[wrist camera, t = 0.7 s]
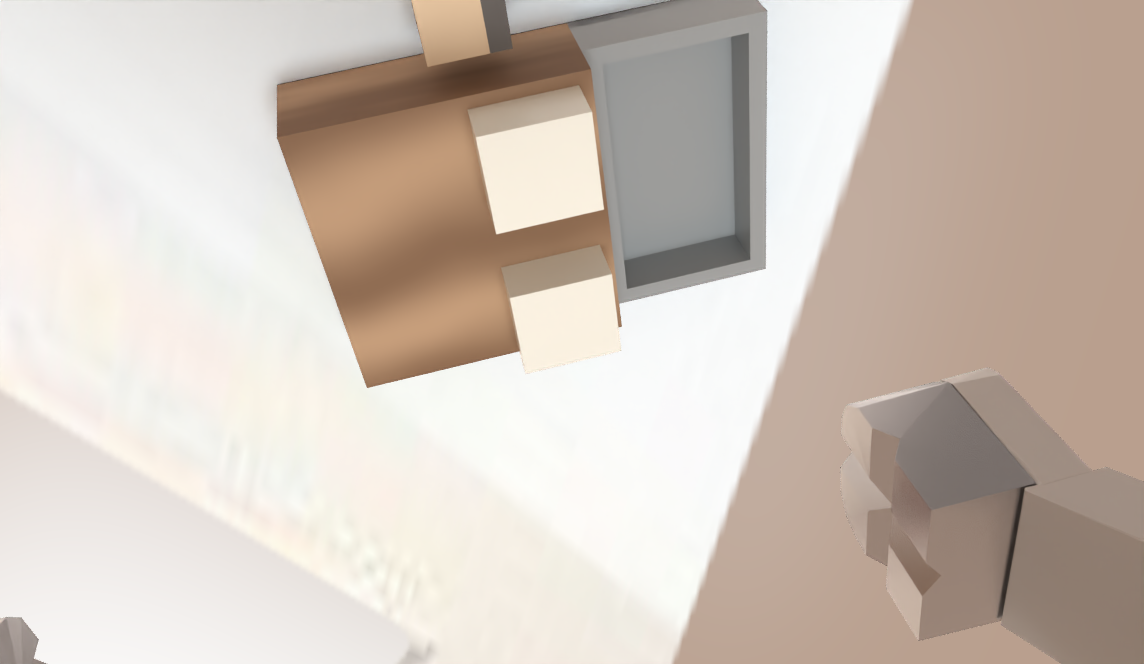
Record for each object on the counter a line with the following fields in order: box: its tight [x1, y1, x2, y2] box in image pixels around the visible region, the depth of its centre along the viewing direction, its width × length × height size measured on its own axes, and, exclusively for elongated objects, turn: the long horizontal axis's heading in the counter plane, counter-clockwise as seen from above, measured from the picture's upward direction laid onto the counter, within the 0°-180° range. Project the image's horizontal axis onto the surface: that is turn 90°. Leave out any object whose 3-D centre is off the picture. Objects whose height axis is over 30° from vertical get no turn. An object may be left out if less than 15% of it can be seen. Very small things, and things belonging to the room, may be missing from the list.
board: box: [277, 23, 622, 388], centre depth 40 cm, size 12×11×4 cm
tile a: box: [468, 85, 604, 234], centre depth 36 cm, size 4×4×2 cm
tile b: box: [501, 245, 621, 374], centre depth 41 cm, size 4×4×2 cm
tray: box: [567, 0, 767, 304], centre depth 42 cm, size 12×7×2 cm, turn 7°
